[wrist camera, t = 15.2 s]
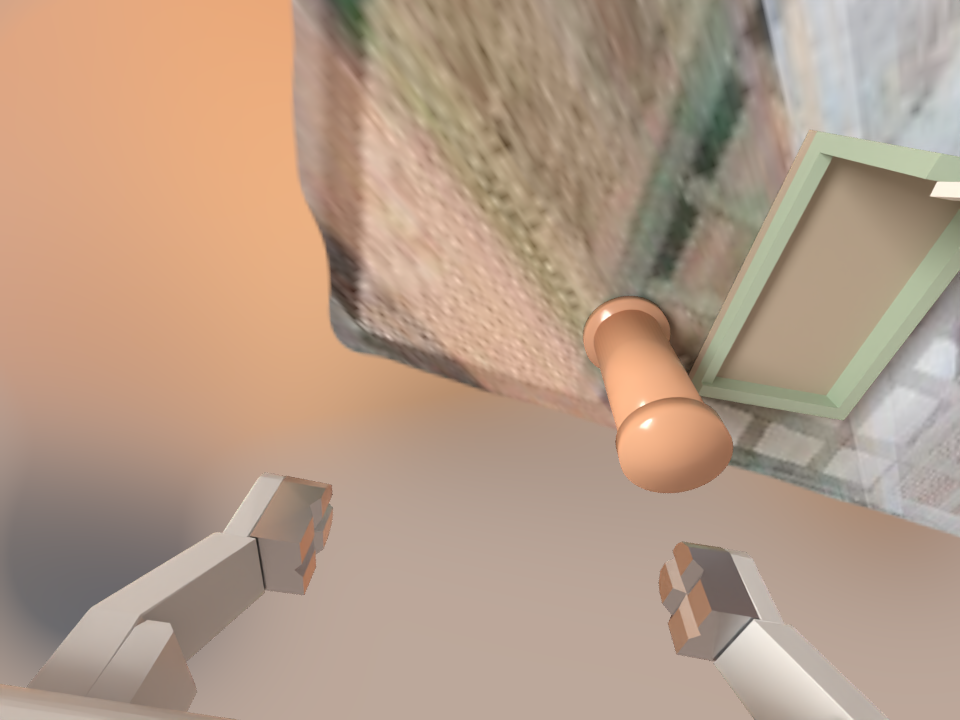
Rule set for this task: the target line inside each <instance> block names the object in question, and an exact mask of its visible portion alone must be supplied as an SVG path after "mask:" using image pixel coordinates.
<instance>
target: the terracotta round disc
mask: <svg viewBox="0 0 960 720" xmlns="http://www.w3.org/2000/svg"><path fill="white" fill-rule="evenodd" d="M623 310H640V311H643V312H646V313H648V314H650V315H651V316H653V317H654V318H655V319H656V321H657V322H658V323H659V325H660V327H661V329H662V330H663V332H664V334H665V336H666V337H667V339H668V341H669V340H670V326H669V323H668V321H667V319H666V317H665V315H664V314H663V312H662V311H661V309H660V308H659V307H658V306H657V305H656V304H654V303H653V302H651V301H650V300H648V299H645V298H642V297H638V296H623V297H618V298H614V299H611V300H609V301H607V302H605V303H603V304H602V305H600V306H599V307H598V308H597V309H595V310H594V311H593V313H592V314H591V315H590V316H589V318H588V320H587V321H586V324H585V326H584V330H583V342H584V347H585V350H586V353H587V356H588V357H589V359H590V360H591V362H592V363H593V364H594V365H595V366H597V367H598V368H600V366H599V363H598V359H597V356H596V352H595V349H594V335H595V332H596V330H597V328H598V327H599V325H600V324H601V323H602V322H603V321H604V320H605V319H606V318H607V317H609V316H610V315H612V314H614V313H617V312H619V311H623Z"/></svg>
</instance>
